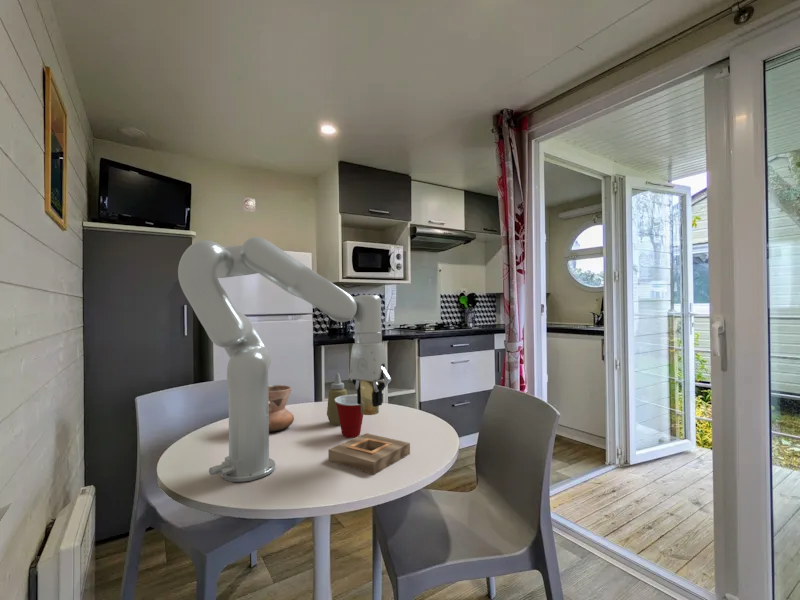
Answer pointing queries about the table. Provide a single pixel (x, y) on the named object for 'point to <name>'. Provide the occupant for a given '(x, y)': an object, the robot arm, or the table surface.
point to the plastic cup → (349, 415)
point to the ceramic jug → (279, 407)
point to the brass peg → (367, 398)
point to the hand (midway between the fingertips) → (369, 403)
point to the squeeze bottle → (334, 393)
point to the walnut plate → (369, 453)
